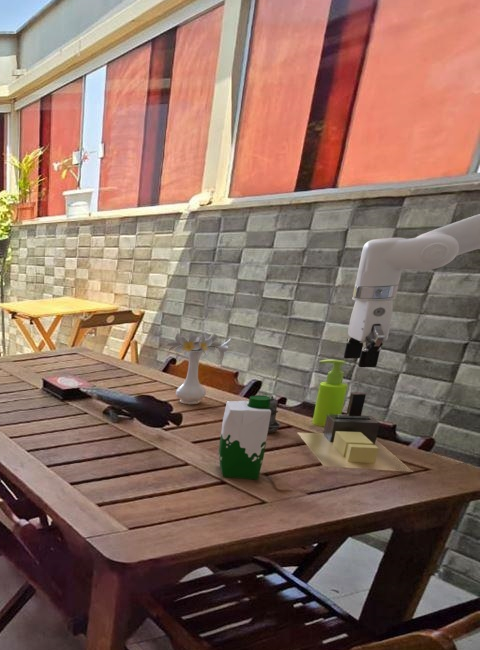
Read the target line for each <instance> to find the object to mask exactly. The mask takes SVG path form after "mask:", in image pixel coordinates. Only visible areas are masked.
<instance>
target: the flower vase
mask: <svg viewBox="0 0 480 650" xmlns="http://www.w3.org/2000/svg"><path fill="white" fill-rule="evenodd" d="M188 334H189V335H188V338H185V336H186V332H184V333H183V334H182V335H181V334H180V333H179V332H178V333H177V334H176V335H175V338H174V341H170V342H169V343H167V346H168V347H170V348H169V349H168V351H173V350H174V352H176V353H180V352H181V353H182V352H183V354H184V357H185V358H188V366H187V373H186V378H185V379H184V381H183V382H182V384H181V385H179V386H178V387H177V388H176V390H175V396H176V397H177V398H178V400H179V403H181V404H184V405H198V404H199V403H200V402H201V400H203V399H204V398H205V397H206V396H207V392H206V389H205V388H204V386H203V385H201V382H200V380H199V364H200V358H201V355H202V353H205V354H204V355H206V356H209V353H211V354H215V353H216V349H218V352H219V354H220V357H221V361H223V360H224V356H225V355H224V354H225V353H226V352H227V351H228V349H229V346H228V345H229V343H230V342H231V340H232V338H231V337H230V338H229V339H228V340H227V341H225V342H224V343H220V342H218V341H216V340H217V338H218V336H217V334H215V333H213V334H211V335H210V336H209V334H208V333H207V332H206V331H204V332H203V334H201V335H200V336H198V337H197V336H196V333H195V332H194V331H190V332H189V333H188Z"/></svg>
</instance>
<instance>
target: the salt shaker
mask: <svg viewBox="0 0 480 650" xmlns="http://www.w3.org/2000/svg"><path fill="white" fill-rule="evenodd" d="M278 404H279V401H278V400H277V399H275V397H274V396H273V395H271V396H270V409H271V416H270V421H269V427H268V434H272V433H275V432H277V431H278V430H279V428H280V427H281V423H280V422H278V421H277V420H276V417H277V414H278V412H279V411H278Z"/></svg>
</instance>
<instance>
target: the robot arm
mask: <svg viewBox="0 0 480 650" xmlns="http://www.w3.org/2000/svg"><path fill="white" fill-rule="evenodd" d="M479 249H480V213H478V214H475V215H472V216H469V217H467V218H463V219H461V220H458V221H455V222H452V223H449V224H447V225H443V226H440V227H438V228H435V229H432V230H430V231H427V232H424V233H421V234H419V235H417V236H416V237H412V238H411V237H410V238H405V237H386V238H374V239H370V240H368V241H367V242H366V243H364V245H363V247H362V250H361V254H360V260H359V265H358V270H357V274H356V279H355V283H354V288H353V292H352V298H351V300H352V301H355V302H354V305H353V308H352V311H351V315H350V319H349V322H348V329H347V335H348V337H347V338H346V344H345V348H344V353H343V358H344V359H345V360H346V359H359V361H358V365H357V367H359V368H376V367H377V365H378V362H379V357H380V353H381V351H382V346H383V344H384V342H386V341H387V340H388V338H389V333H390V329H391V324H392V323H391V322H392V318H393V309H394V308H393V307H394V300H395V299H396V297H397V293H398V289H399V284H400V281H401V277H402V272H403V270H418V271H419V270H420V271H422V270H423V271H428V270H435V269H439V268H441V267H444V266H446V265H448V264H449V263H451V262H452V261H453V260H455V258H456V257H457V256H460V255H463V254H466V253H469V252H473V251H475V250H479Z"/></svg>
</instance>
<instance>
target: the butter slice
mask: <svg viewBox="0 0 480 650" xmlns="http://www.w3.org/2000/svg"><path fill="white" fill-rule="evenodd" d="M378 449H379V448H378V447H377V446H376V445H359V444H348V448H347V453H346V457H345V459H346V460H347V461H348V462H362V463H375V461H376V457H377V453H378Z"/></svg>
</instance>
